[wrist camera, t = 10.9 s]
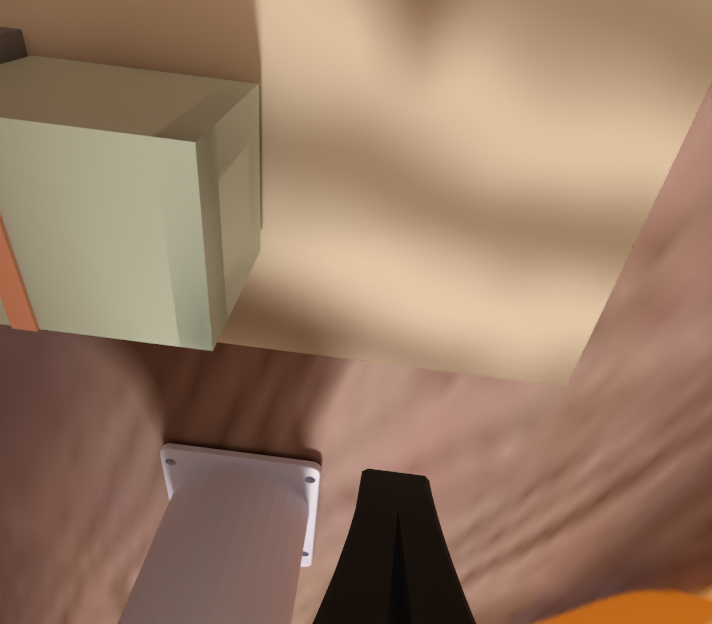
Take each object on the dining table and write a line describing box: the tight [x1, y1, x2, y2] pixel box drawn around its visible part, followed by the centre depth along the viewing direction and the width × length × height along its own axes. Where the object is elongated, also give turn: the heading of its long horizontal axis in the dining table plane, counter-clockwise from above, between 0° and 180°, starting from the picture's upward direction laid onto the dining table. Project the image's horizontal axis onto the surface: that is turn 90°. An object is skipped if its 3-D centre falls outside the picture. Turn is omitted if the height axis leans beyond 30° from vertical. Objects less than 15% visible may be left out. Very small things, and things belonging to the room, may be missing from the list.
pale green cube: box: [0, 55, 261, 351], centre depth 13 cm, size 5×6×5 cm
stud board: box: [0, 0, 712, 387], centre depth 14 cm, size 14×22×6 cm, turn 84°
